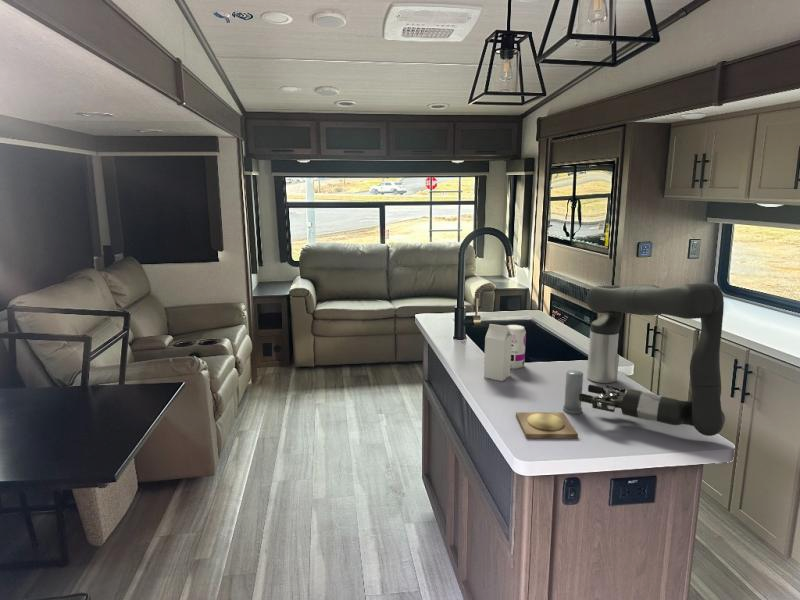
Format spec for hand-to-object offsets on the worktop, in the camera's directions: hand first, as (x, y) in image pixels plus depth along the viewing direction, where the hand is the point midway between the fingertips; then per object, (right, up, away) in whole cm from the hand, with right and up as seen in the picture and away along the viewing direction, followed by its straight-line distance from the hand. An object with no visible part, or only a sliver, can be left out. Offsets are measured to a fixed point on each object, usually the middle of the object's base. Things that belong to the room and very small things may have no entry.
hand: (583, 392), depth 162 cm
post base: (-14, -8, -8) cm, 18 cm away
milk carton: (-20, 0, +32) cm, 38 cm away
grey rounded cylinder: (-2, -6, +3) cm, 7 cm away
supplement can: (-12, +3, +43) cm, 45 cm away
